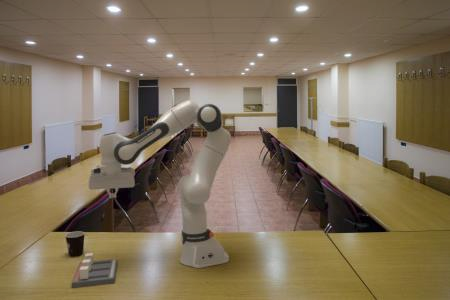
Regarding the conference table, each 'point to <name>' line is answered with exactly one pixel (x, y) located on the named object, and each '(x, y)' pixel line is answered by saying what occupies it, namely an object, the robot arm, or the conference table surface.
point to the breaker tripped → (87, 263)
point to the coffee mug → (75, 243)
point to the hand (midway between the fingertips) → (112, 197)
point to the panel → (97, 273)
